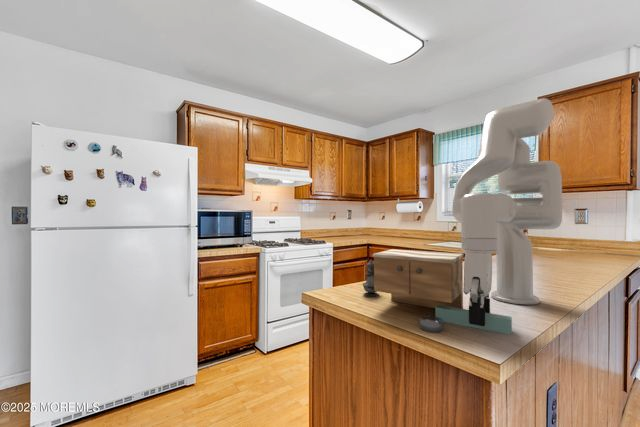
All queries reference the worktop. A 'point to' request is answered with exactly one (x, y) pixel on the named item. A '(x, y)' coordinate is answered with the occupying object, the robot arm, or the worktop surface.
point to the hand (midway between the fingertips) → (479, 318)
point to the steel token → (431, 324)
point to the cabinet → (420, 277)
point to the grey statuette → (370, 281)
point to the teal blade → (462, 318)
